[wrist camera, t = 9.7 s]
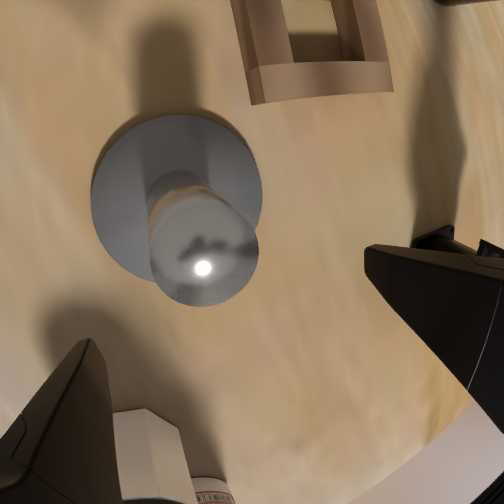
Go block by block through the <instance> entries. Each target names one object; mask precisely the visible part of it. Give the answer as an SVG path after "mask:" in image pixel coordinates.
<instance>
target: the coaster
mask: <svg viewBox="0 0 504 504" xmlns="http://www.w3.org/2000/svg"><path fill="white" fill-rule="evenodd" d="M172 171H188V172H191V173H193V174H195V175H197V176H198V177H200V178H201V179H202V180H203V181H204V182H205V183H206V184H208V185H209V186H210V187H211V188H212V189H213V190H214V191H215V192H217V193H218V194H219V195H220V196H221V197H222V198H223V199H224V200H226V201H227V202H228V203H229V204H230V205H231V206H232V207H233V208H235V209H236V210H237V211H238V212H239V213H240V214H241V215H242V216H243V217H245V218H246V219H247V221H248V222H249V223H250V224H251V226H252V228H253V229H254V231H255V229H256V226H257V224H258V221H259V217H260V213H261V206H262V185H261V179H260V175H259V171H258V168H257V166H256V163H255V161H254V159H253V157H252V155H251V154H250V152H249V150H248V149H247V148H246V146H245V145H244V144H243V142H242V141H241V140H240V139H239V138H238V137H237V136H236V135H235V134H233V133H232V132H231V131H229V130H228V129H227V128H225V127H223V126H222V125H220V124H218V123H216V122H214V121H211V120H209V119H206V118H202V117H198V116H194V115H183V114H179V115H167V116H162V117H157V118H154V119H151V120H148V121H145V122H143V123H141V124H139V125H137V126H135V127H134V128H132V129H131V130H129V131H128V132H127V133H125V134H124V135H123V136H122V137H121V138H120V139H118V140H117V141H116V142H115V143H114V145H113V146H112V147H111V148H110V149H109V151H108V152H107V153H106V155H105V157H104V158H103V160H102V161H101V163H100V166H99V168H98V170H97V172H96V175H95V179H94V182H93V187H92V194H91V211H92V219H93V223H94V226H95V230H96V232H97V235H98V237H99V239H100V241H101V243H102V245H103V246H104V248H105V250H106V251H107V252H108V253H109V255H110V256H111V257H112V258H113V259H114V260H115V261H116V262H117V263H118V264H119V265H120V266H122V267H123V268H124V269H126V270H127V271H128V272H130V273H132V274H134V275H136V276H138V277H140V278H143V279H145V280H148V281H152V282H156V281H155V279H154V277H153V275H152V271H151V267H150V257H149V241H148V221H147V197H148V193H149V191H150V189H151V187H152V185H153V184H154V183H155V182H156V180H158V179H159V178H160V177H161V176H163V175H165V174H167V173H169V172H172Z"/></svg>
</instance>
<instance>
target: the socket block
mask: <svg viewBox="0 0 504 504" xmlns="http://www.w3.org/2000/svg"><path fill="white" fill-rule="evenodd" d="M230 1H231V5H232V10H233V15H234V20H235V24H236V29H237V34H238V39H239V44H240V49H241V54H242V59H243V64H244V69H245V74H246V79H247V84H248V89H249V94H250V100H251V105H256V104H263V103H269V102H276V101H283V100H291V99H299V98H308V97H317V96H328V95H340V94H355V93H375V92H394V91H393V84H392V77H391V71H390V65H389V59H388V54H387V48H386V43H385V38H384V34H383V29H382V25H381V20H380V16H379V12H378V8H377V4H376V0H329V1H331V3H332V7H333V11H334V15H335V20H336V24H337V29H338V33H339V38H340V43H341V48H342V53H343V58H344V61H324V62H301V63H294V61H293V55H292V50H291V45H290V41H289V36H288V31H287V27H286V22H285V17H284V13H283V9H282V4H281V0H230Z"/></svg>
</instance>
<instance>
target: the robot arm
mask: <svg viewBox="0 0 504 504" xmlns="http://www.w3.org/2000/svg"><path fill="white" fill-rule="evenodd" d="M479 244H480V245H479V248H478V251H476V250H474V249H472V248H470V247H468V246H466V245H464V244H462V243H459V242H457V241H455V240H454V226H452V225H448V226H445V227H443V228H441V229H438V230H436V231H434V232H431V233H429V234H426V235H424V236H422V237H419V238H417V239H415V240H414V242H413V247H412V248H407V247H398V246H389V245H380V244H374V245H371V246H368V247H366V248H365V250H364V270H365V274H366V276H367V277H368V279H369V280H370V281H371V282H372V284H373V285H374V286H375V287H376V289H377V290H378V291H379V293H380V294H381V295H382V296H383V298H384V299H385V300H386V301H387V303H388V304H389V305H390V306H391V307H392V309H393V310H394V311H395V312H396V313H397V314H398V315H399V316H400V317H401V318H402V319H403V320H404V321H405V322H406V323H407V324H408V325H409V327H410V328H411V329H412V330H413V331H414V332H415V333H416V334H417V335H418V336H419V337H420V338H421V339H422V340H423V342H424V343H425V344H426V345H427V346H428V347H429V348H430V349H431V350H432V351H433V352H434V354H435V355H436V356H437V357H438V358H439V359H440V360H441V361H442V362H443V364H444V365H445V366H446V367H447V368H448V369H449V370H450V371H451V373H452V374H453V375H454V376H455V377H456V378H457V379H458V381H459V382H460V383H461V384H462V385H463V386H464V387H465V389H466V390H468V392H469V394H470V395H471V396H472V397H473V398H474V399H475V401H476V402H477V403H478V404H479V405H480V407H481V408H482V409H483V410H484V411H485V412H486V414H487V415H488V416H489V417H490V419H491V420H492V421H493V422H494V424H495V425H496V426H497V427H498V429H499V430H500V431H501V432H502V433H503V434H504V250H503V249H501V248H499V247H497V246H495V245H493V244H491V243H489V242H487V241H484V240H482V239H480V242H479ZM21 413H22V414H19V416H18V417H17V418H16V420H15V421H14V422H13V424H12V425H11V426H10V428H9V429H8V430H7V432H6V433H5V434H4V435H3V436H2V438H1V439H0V504H123V501H122V495H121V488H120V481H119V474H118V466H117V458H116V448H115V437H114V425H113V411H112V403H111V396H110V390H109V384H108V377H107V370H106V364H105V361H104V358H103V357H102V355H101V353H100V351H99V350H98V348H97V346H96V344H95V342H94V341H93V340H92V339H91V338H87V339H84V340H80V341H79V342H78V343H77V344H76V345H75V346H74V347H73V349H72V350H71V351H70V352H69V353H68V354H67V356H66V357H65V358H64V359H63V360H62V362H61V363H60V364H59V365H58V366H57V368H56V369H55V370H54V371H53V373H52V374H51V375H50V376H49V377H48V379H47V380H46V381H45V382H44V384H43V385H42V386H41V387H40V389H39V390H38V391H37V393H36V394H35V395H34V396H33V398H32V399H31V400H30V401H29V403H28V404H27V405H26V407H25V408H24V409H23V411H22V412H21ZM470 504H504V472H502V473H501V474H500V476H499V477H497V479H496V480H495V481H494V482H493V483H492V484H491V485H490V486H489V487H488V488H486V489H485V490H484V491H483V492H482V493H481V494H480V495H479V496H478V497H477V498H476V499H475V500H474V501H473V502H471V503H470Z"/></svg>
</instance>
